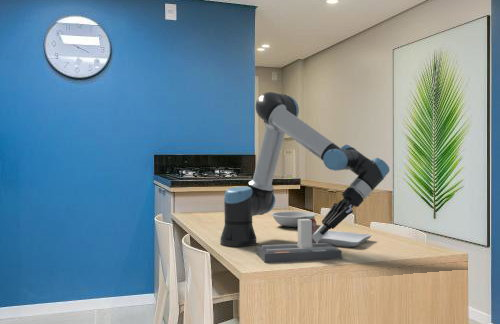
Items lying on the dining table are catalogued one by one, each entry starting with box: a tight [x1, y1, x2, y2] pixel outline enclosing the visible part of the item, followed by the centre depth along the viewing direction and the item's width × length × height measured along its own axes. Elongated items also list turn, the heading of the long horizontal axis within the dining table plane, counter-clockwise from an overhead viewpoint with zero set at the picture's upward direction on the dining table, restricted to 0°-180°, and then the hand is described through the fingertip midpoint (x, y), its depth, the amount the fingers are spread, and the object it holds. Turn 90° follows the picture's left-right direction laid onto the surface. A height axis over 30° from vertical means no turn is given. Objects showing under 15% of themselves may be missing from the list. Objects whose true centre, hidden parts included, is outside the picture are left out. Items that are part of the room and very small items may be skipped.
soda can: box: [301, 216, 318, 243], centre depth 182 cm, size 7×7×12 cm
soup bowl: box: [270, 210, 318, 228], centre depth 236 cm, size 24×24×7 cm
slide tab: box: [296, 219, 313, 248], centre depth 165 cm, size 6×4×10 cm, turn 11°
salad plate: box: [316, 230, 372, 248], centre depth 192 cm, size 21×21×3 cm
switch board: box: [256, 242, 342, 263], centre depth 164 cm, size 13×28×4 cm, turn 101°
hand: (313, 239), depth 165 cm, fingers closed
